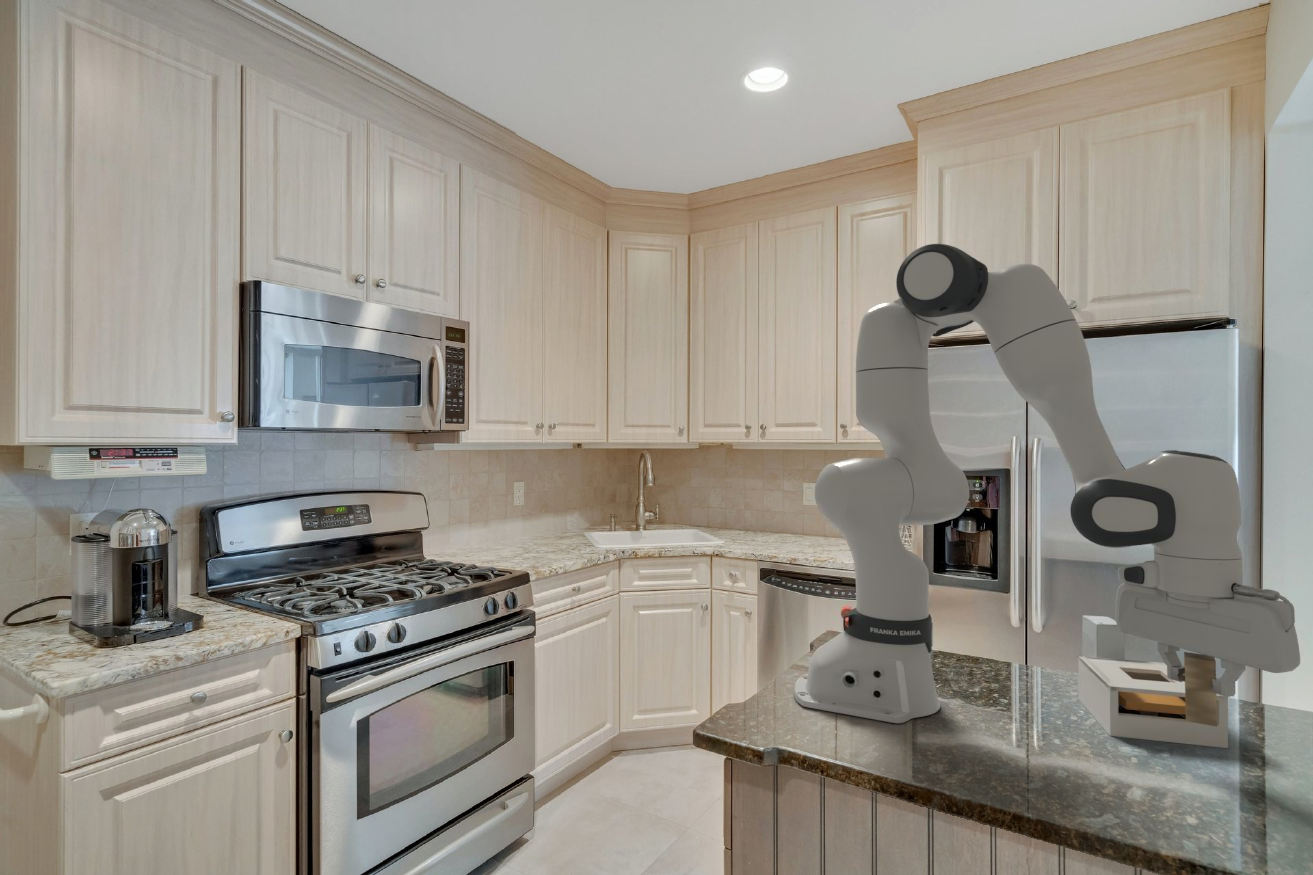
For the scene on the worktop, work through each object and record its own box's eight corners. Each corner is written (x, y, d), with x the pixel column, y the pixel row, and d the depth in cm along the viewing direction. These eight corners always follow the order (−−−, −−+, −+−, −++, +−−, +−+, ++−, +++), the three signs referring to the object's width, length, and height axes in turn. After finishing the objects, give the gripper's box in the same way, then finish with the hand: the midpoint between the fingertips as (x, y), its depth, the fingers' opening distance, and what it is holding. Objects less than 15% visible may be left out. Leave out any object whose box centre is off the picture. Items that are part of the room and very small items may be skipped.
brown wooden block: (1186, 721, 86) (1185, 657, 86) (1185, 713, 88) (1184, 651, 89) (1217, 726, 84) (1215, 661, 84) (1215, 719, 87) (1213, 655, 87)
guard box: (1110, 735, 96) (1110, 686, 96) (1078, 699, 110) (1078, 656, 110) (1227, 748, 92) (1227, 696, 93) (1180, 708, 106) (1180, 664, 106)
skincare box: (1125, 699, 110) (1125, 625, 110) (1096, 697, 111) (1096, 624, 111) (1108, 686, 116) (1108, 615, 116) (1081, 684, 117) (1081, 614, 117)
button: (1126, 720, 98) (1126, 700, 98) (1106, 699, 106) (1106, 681, 106) (1191, 726, 96) (1191, 706, 96) (1166, 705, 104) (1166, 687, 104)
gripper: (1312, 591, 78) (1316, 713, 77) (1140, 564, 97) (1142, 661, 97) (1273, 595, 76) (1276, 720, 76) (1106, 566, 96) (1108, 665, 95)
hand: (1200, 686), depth 86 cm, fingers closed on brown wooden block, 4 cm apart
